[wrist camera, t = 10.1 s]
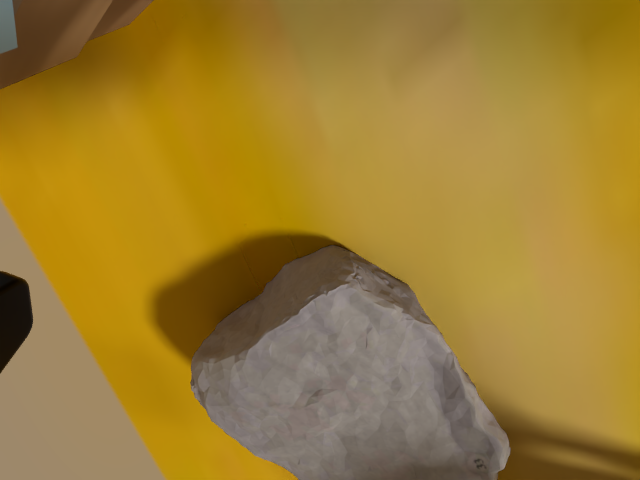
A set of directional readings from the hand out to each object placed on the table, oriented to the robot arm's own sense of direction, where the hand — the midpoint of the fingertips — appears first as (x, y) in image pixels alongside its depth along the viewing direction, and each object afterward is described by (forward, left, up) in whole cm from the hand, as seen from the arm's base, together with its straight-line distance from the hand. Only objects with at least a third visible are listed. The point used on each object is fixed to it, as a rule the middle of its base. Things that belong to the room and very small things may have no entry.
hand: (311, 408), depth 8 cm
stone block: (+9, +8, -14) cm, 18 cm away
